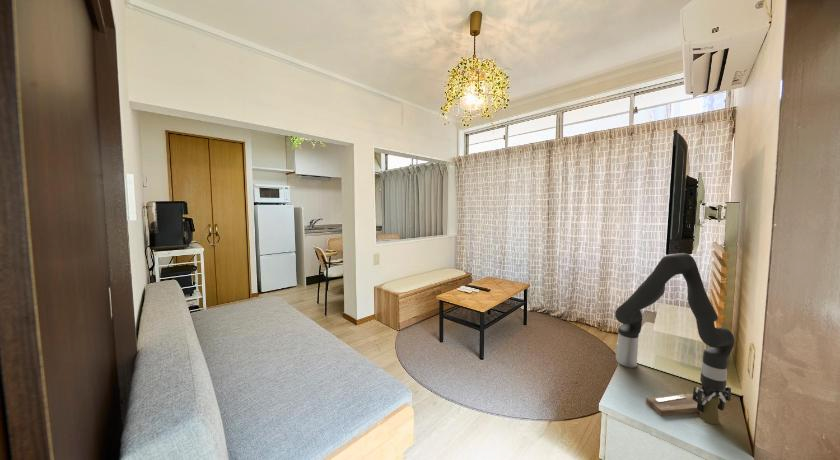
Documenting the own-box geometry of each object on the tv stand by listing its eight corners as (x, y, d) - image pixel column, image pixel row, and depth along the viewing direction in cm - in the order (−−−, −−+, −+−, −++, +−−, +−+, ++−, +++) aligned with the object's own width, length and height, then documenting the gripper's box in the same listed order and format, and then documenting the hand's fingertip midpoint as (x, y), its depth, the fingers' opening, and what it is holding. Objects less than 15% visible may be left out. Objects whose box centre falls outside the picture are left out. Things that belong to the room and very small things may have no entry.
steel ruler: (655, 399, 131) (655, 398, 131) (682, 395, 132) (682, 394, 132) (658, 402, 129) (659, 401, 129) (686, 398, 131) (686, 397, 131)
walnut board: (645, 402, 133) (646, 397, 132) (691, 398, 134) (691, 393, 133) (661, 415, 125) (661, 410, 124) (709, 411, 126) (709, 406, 125)
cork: (698, 419, 122) (700, 395, 121) (699, 411, 126) (701, 388, 125) (719, 426, 118) (721, 402, 116) (719, 418, 122) (721, 394, 121)
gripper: (719, 367, 123) (716, 402, 125) (688, 370, 123) (685, 405, 125) (740, 378, 116) (736, 415, 118) (706, 381, 115) (703, 418, 117)
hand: (710, 410), depth 121 cm, fingers open, 8 cm apart
